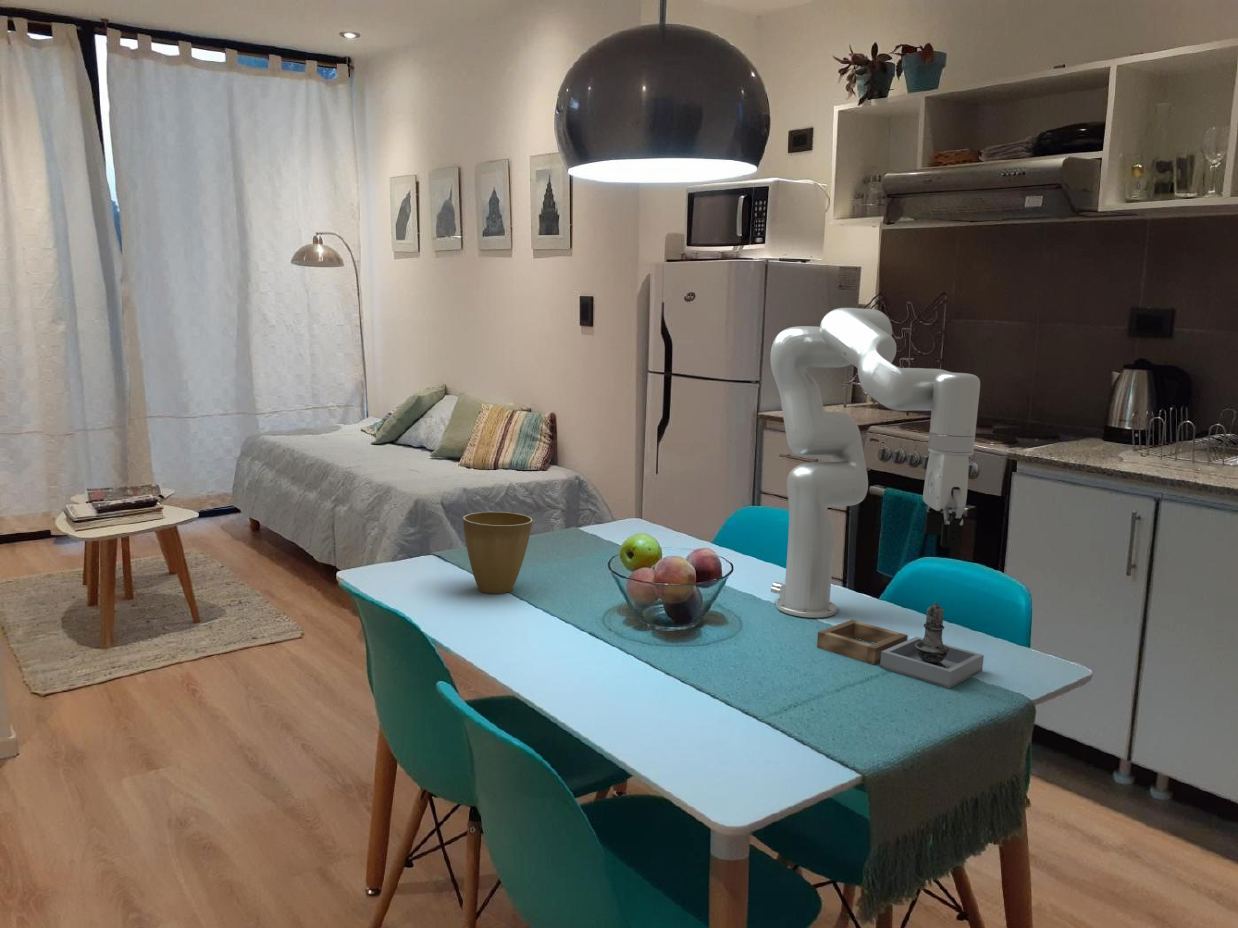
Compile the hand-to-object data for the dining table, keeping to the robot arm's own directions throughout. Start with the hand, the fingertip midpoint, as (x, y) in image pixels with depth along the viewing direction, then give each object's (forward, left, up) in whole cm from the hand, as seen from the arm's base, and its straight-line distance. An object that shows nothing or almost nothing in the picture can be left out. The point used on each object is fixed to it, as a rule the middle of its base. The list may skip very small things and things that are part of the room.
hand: (941, 540), depth 172 cm
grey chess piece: (0, -1, -23) cm, 23 cm away
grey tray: (+1, -1, -23) cm, 23 cm away
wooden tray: (-13, -1, -23) cm, 27 cm away
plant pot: (-86, -30, -24) cm, 95 cm away
